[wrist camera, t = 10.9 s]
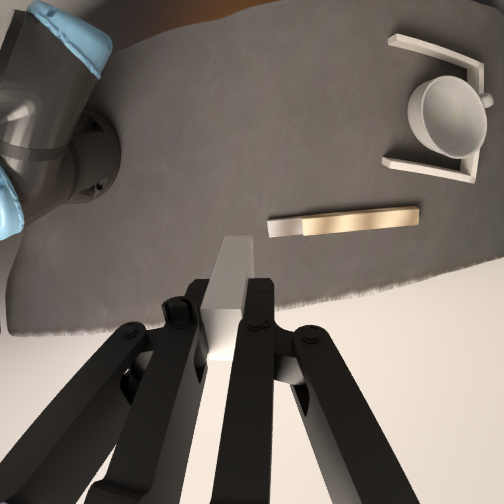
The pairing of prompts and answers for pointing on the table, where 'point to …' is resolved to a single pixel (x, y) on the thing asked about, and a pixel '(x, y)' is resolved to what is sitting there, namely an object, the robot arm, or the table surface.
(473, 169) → the tray
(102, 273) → the table surface
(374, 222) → the birch bar
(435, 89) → the teacup
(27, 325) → the table surface
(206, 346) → the robot arm
